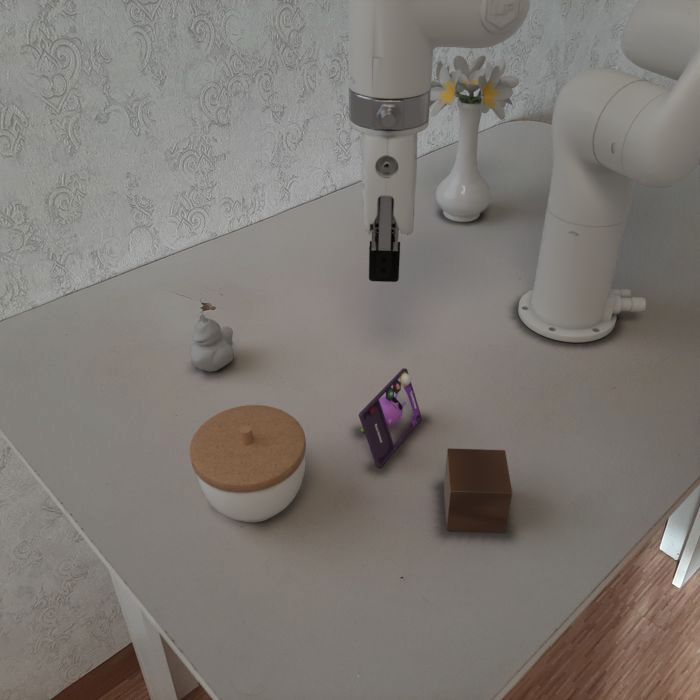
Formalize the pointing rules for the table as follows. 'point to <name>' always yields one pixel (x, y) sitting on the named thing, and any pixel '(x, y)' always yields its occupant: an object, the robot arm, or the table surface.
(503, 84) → the flower vase
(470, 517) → the walnut block
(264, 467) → the trinket box
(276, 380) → the table surface
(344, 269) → the table surface
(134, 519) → the table surface
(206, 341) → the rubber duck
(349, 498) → the table surface
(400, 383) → the game card
